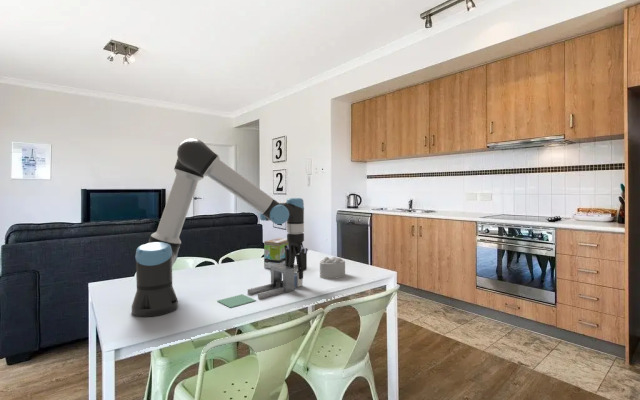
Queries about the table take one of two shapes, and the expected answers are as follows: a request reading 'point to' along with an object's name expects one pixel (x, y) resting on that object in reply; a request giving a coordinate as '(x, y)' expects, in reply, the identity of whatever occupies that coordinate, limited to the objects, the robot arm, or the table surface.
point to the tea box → (274, 252)
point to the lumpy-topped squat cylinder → (332, 268)
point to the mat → (236, 301)
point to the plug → (280, 283)
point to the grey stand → (276, 277)
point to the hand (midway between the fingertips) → (295, 284)
